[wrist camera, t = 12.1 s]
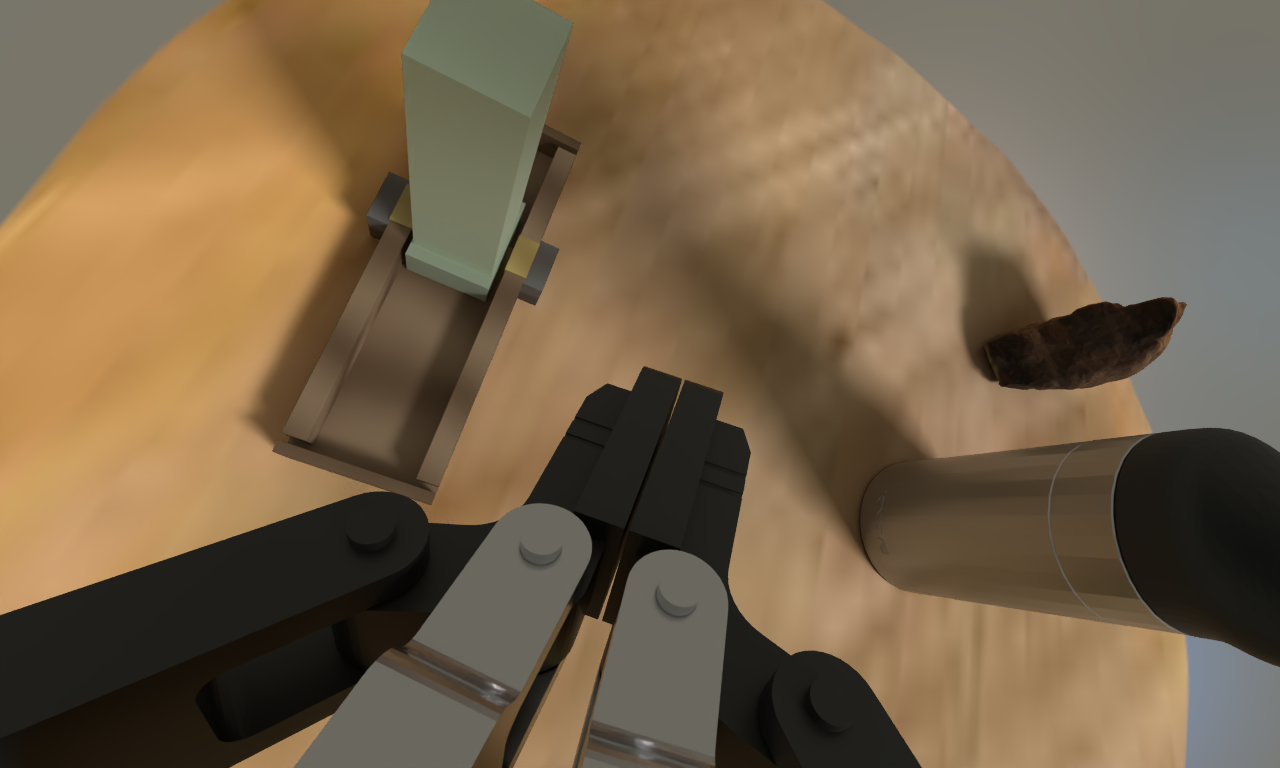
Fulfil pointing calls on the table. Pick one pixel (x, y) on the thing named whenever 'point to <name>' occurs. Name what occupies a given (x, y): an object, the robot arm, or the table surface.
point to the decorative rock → (1084, 345)
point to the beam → (417, 345)
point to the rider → (475, 130)
